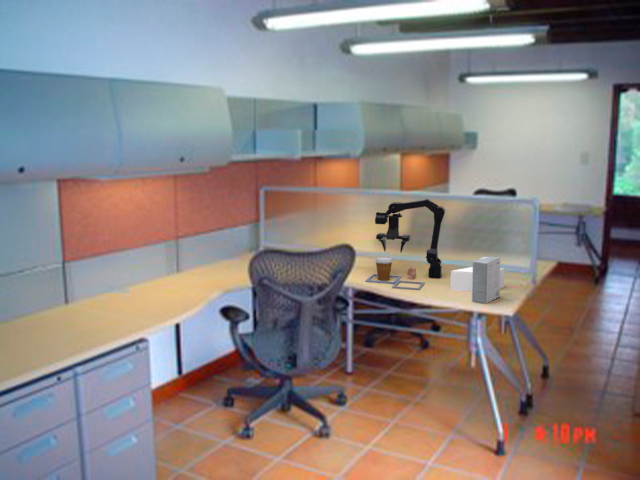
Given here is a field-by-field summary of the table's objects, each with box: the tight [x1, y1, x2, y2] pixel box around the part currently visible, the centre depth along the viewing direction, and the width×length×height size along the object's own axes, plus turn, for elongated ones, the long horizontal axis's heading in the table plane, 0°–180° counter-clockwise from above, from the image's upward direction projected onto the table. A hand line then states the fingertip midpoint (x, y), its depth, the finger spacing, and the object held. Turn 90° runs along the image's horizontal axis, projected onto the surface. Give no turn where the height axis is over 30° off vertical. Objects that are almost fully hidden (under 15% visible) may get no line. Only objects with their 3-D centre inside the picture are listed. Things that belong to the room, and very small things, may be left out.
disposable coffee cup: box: [374, 256, 393, 282], centre depth 349 cm, size 10×10×12 cm
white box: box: [450, 266, 506, 292], centre depth 328 cm, size 14×29×10 cm, turn 98°
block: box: [406, 266, 417, 281], centre depth 352 cm, size 4×4×6 cm
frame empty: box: [391, 280, 426, 291], centre depth 336 cm, size 14×14×1 cm
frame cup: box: [364, 273, 403, 285], centre depth 350 cm, size 16×16×1 cm
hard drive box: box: [471, 255, 501, 305], centre depth 306 cm, size 16×8×20 cm, turn 141°
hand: (393, 252), depth 360 cm, fingers open, 9 cm apart
